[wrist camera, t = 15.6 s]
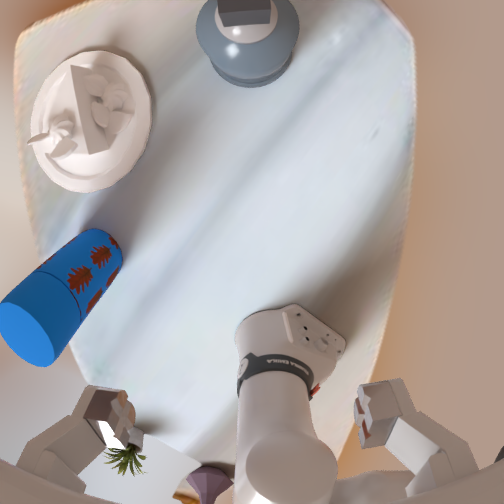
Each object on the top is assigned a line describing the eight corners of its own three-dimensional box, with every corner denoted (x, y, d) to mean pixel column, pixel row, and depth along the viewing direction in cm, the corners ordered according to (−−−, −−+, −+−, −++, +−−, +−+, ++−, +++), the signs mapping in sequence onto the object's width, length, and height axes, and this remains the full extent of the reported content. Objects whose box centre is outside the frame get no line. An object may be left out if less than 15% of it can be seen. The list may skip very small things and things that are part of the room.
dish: (145, 198, 49) (118, 219, 39) (32, 184, 48) (-5, 201, 38) (165, 50, 39) (139, 34, 29) (42, 58, 38) (3, 54, 28)
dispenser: (294, 85, 41) (314, 67, 25) (213, 91, 42) (188, 76, 26) (287, 15, 36) (302, -34, 20) (208, 21, 37) (182, -24, 21)
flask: (183, 459, 84) (174, 510, 65) (232, 463, 83) (229, 515, 65) (191, 478, 90) (184, 522, 72) (235, 481, 90) (233, 527, 72)
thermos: (100, 217, 50) (12, 287, 27) (134, 264, 54) (69, 356, 31) (65, 246, 53) (-15, 318, 30) (97, 288, 56) (33, 374, 34)
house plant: (145, 416, 73) (131, 464, 58) (168, 442, 79) (158, 486, 64) (107, 417, 75) (90, 459, 60) (131, 442, 81) (119, 482, 66)
